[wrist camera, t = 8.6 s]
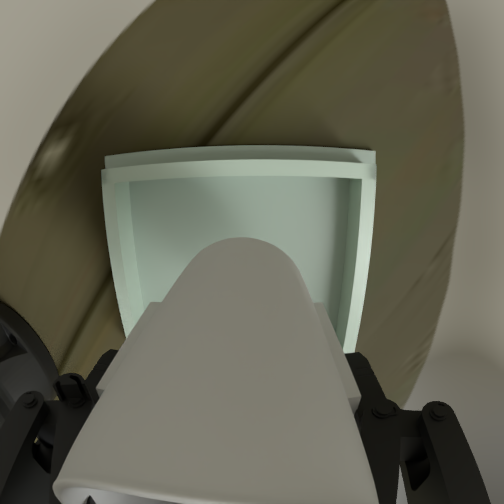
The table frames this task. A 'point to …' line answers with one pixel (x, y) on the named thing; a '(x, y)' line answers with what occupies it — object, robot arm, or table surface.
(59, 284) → the table surface
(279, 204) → the tray
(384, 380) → the table surface
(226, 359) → the mug
